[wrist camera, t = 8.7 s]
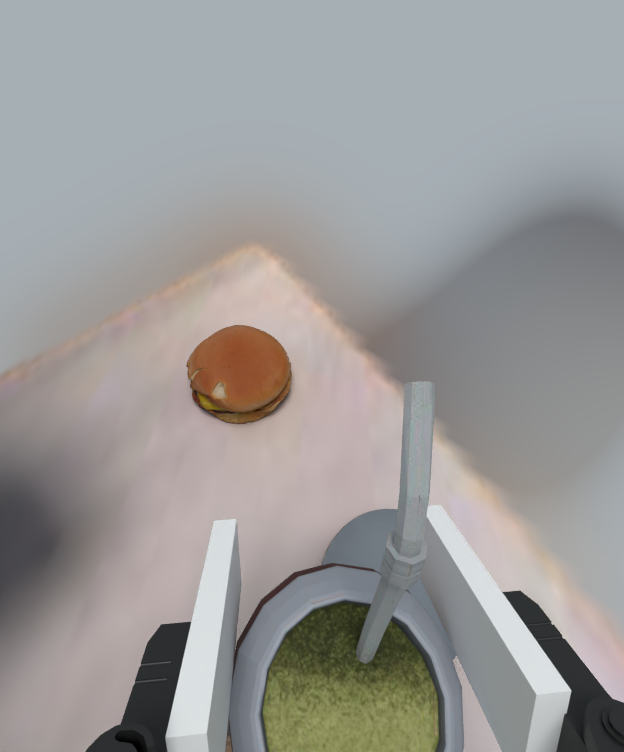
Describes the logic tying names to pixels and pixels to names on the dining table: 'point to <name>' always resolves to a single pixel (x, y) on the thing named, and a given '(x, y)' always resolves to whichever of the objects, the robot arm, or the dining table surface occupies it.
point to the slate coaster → (376, 554)
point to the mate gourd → (354, 642)
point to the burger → (239, 374)
